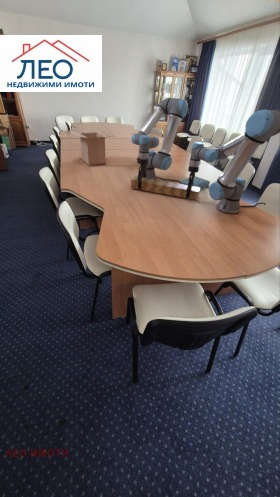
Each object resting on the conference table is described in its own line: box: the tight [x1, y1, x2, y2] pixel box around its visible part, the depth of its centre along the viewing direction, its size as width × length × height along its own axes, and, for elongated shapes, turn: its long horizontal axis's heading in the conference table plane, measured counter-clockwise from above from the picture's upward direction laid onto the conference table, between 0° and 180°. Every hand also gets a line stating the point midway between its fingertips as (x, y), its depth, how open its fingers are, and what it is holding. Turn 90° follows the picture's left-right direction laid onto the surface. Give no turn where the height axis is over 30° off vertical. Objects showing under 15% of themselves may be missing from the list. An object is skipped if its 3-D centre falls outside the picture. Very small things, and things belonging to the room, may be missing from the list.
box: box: [70, 129, 114, 166], centre depth 229 cm, size 44×36×27 cm
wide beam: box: [130, 175, 201, 201], centre depth 175 cm, size 54×10×6 cm, turn 72°
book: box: [178, 175, 211, 190], centre depth 191 cm, size 23×16×5 cm
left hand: (141, 186), depth 181 cm, fingers closed on wide beam, 10 cm apart
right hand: (188, 195), depth 172 cm, fingers closed on wide beam, 10 cm apart
